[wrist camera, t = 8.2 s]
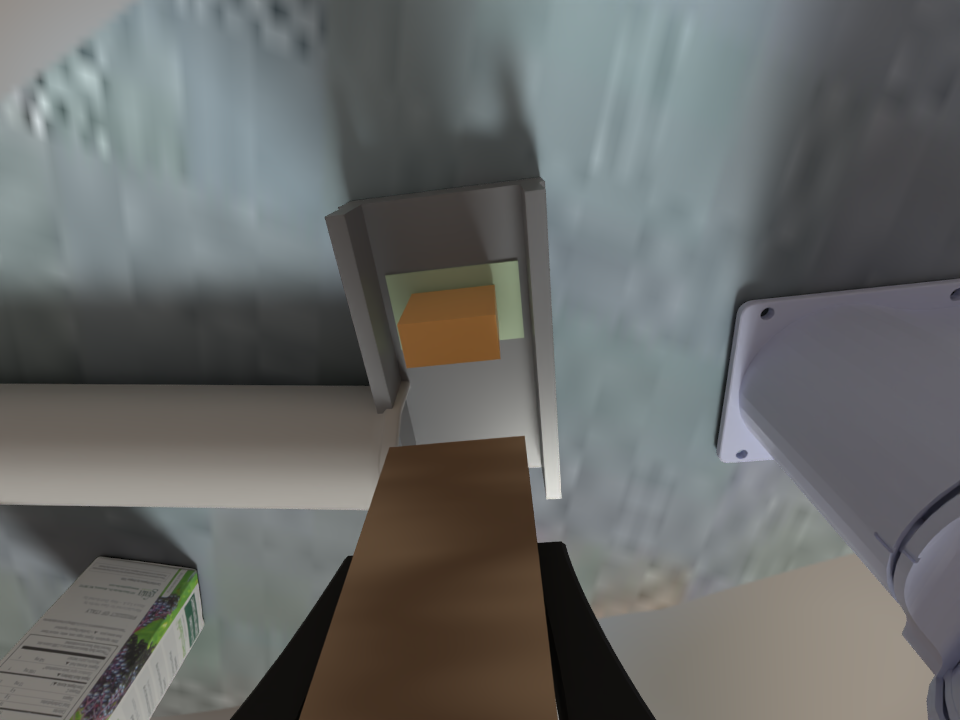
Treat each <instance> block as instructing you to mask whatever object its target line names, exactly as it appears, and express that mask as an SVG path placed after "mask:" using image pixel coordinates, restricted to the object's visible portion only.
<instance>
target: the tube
mask: <svg viewBox="0 0 960 720" xmlns="http://www.w3.org/2000/svg"><path fill="white" fill-rule="evenodd" d="M409 388H410V382H409V381H401V384H400V387H399V390H398V393H397V397H396V400H395V403H394V406H393V409H386V410H385V411H384V412H383V414H377V410H376V406H375V402H374V399H373V395H372V391H371V388H370V386H308V385H143V384H0V505H59V506H127V507H196V508H264V509H333V510H369V507H370V504H371V501H372V498H373V495H374V492H375V489H376V486H377V483H378V480H379V477H380V474H381V471H382V468H383V465H384V462H385V459H386V456H387V453H388V450H389V447H398V445H399V434H400V423H401V414H402V410H403V407H404V404H405V401H406V398H407V394H408V391H409Z"/></svg>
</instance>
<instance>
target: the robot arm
mask: <svg viewBox="0 0 960 720" xmlns="http://www.w3.org/2000/svg"><path fill="white" fill-rule="evenodd" d="M954 290H956V291H955V292H954V294H953V295H951V294H952V292H953V291H954ZM950 295H951V296H950ZM766 308H769V311H768V313H767V314H766V315H764V316H761V315H760V314H761V312H762V311H763V310H764V309H766ZM740 450H743V451H741V452H740V453H737V452H738V451H740ZM716 453H717V456H718V457H719V458H720V460H721V461H722V462H724V463H735V462H747V461H760V460H772V459H774V460H775V461H776V462H777V463H778V465H779V466H780V467H781V468H782V469H783V470H784V471H785V473H786V474H787V475H788V476H789V477H790V478H791V480H792V481H793V482H794V483H795V484H796V485H797V487H798V488H799V489H800V490H801V491H802V492H803V494H804V495H805V496H806V497H807V498H808V499H809V501H810V502H811V503H812V504H813V505H814V506H815V507H816V509H817V510H818V511H819V512H820V513H821V514H822V516H823V517H824V518H825V519H826V520H827V521H828V523H829V524H830V525H831V526H832V527H833V528H834V530H835V531H836V532H837V533H838V534H839V535H840V536H841V538H842V539H843V540H844V541H845V542H846V543H847V545H848V546H849V547H850V548H851V549H852V550H853V552H854V553H855V554H856V555H857V556H858V557H859V558H860V560H861V561H862V562H863V563H864V564H865V565H866V567H868V569H869V570H870V571H871V572H872V574H873V575H874V576H875V577H876V578H877V579H878V581H879V582H881V584H882V585H883V586H884V587H885V589H886V590H887V591H888V592H889V593H890V594H891V596H892V597H893V598H894V599H895V600H896V601H897V602H898V603H899V604H900V606H901V607H902V609H903V610H904V612H905V614H906V617H907V622H906V626H905V628H904V630H903V632H902V635H903V636H904V638H905V639H906V640H907V641H908V643H909V644H910V645H911V646H912V648H913V649H914V650H915V651H916V652H917V654H918V655H919V656H920V657H921V658H922V660H923V661H924V662H925V663H926V665H927V666H928V667H929V668H930V670H931V671H932V672H933V673H934V674H935V676H934V678H933V680H932V681H931V683H930V686H929V690H928V696H927V711H928V720H960V279H951V280H941V281H932V282H922V283H913V284H903V285H893V286H884V287H874V288H865V289H855V290H845V291H836V292H826V293H816V294H807V295H797V296H788V297H778V298H768V299H759V300H751V301H747V302H745V303H744V304H742V305H741V306H740V308H739V309H738V312H737V316H736V323H735V329H734V336H733V343H732V350H731V356H730V363H729V370H728V376H727V383H726V390H725V397H724V403H723V410H722V417H721V423H720V430H719V437H718V444H717V450H716ZM537 546H538V554H539V563H540V571H541V580H542V589H543V597H544V606H545V615H546V623H547V632H548V640H549V649H550V658H551V666H552V675H553V683H554V692H555V699H556V705H557V710H558V715H559V720H656V719H655V717H654V716H653V714H652V713H651V711H650V710H649V708H648V707H647V705H646V704H645V702H644V701H643V699H642V698H641V696H640V694H639V692H638V691H637V689H636V688H635V686H634V684H633V683H632V681H631V679H630V678H629V676H628V674H627V673H626V671H625V669H624V668H623V666H622V664H621V662H620V661H619V659H618V657H617V656H616V654H615V652H614V651H613V649H612V647H611V645H610V643H609V641H608V640H607V638H606V636H605V634H604V632H603V630H602V628H601V626H600V624H599V622H598V621H597V619H596V617H595V615H594V613H593V611H592V609H591V607H590V605H589V603H588V601H587V599H586V597H585V594H584V592H583V590H582V588H581V585H580V583H579V581H578V579H577V576H576V574H575V571H574V569H573V566H572V564H571V561H570V558H569V555H568V552H567V548H566V545H565V544H564V543H562V542H561V541H560V542H545V543H537ZM352 558H353V556H348V557H347V558H346V559H345V560H344V561H343V563H342V564H341V566H340V568H339V569H338V571H337V572H336V574H335V575H334V577H333V578H332V580H331V582H330V583H329V585H328V586H327V588H326V589H325V591H324V592H323V594H322V595H321V597H320V598H319V600H318V601H317V603H316V604H315V606H314V607H313V609H312V610H311V612H310V613H309V615H308V616H307V618H306V619H305V621H304V622H303V623H302V625H301V626H300V628H299V629H298V631H297V632H296V633H295V635H294V636H293V638H292V639H291V641H290V642H289V643H288V645H287V646H286V648H285V649H284V650H283V652H282V653H281V655H280V656H279V657H278V659H277V660H276V661H275V662H274V664H273V665H272V666H271V668H270V669H269V670H268V672H267V673H266V674H265V676H264V677H263V678H262V680H261V681H260V682H259V684H258V685H257V686H256V688H255V689H254V690H253V692H252V693H251V694H250V695H249V697H248V698H247V699H246V700H245V702H244V703H243V704H242V705H241V707H240V708H239V709H238V710H237V712H236V713H235V714H234V715H233V716H232V718H231V719H230V720H299V718H300V715H301V712H302V709H303V706H304V703H305V700H306V697H307V694H308V691H309V688H310V685H311V682H312V679H313V676H314V673H315V670H316V667H317V664H318V661H319V658H320V655H321V652H322V649H323V646H324V643H325V640H326V637H327V634H328V631H329V628H330V625H331V622H332V619H333V615H334V612H335V609H336V606H337V603H338V600H339V597H340V594H341V591H342V588H343V585H344V582H345V579H346V576H347V573H348V570H349V567H350V564H351V561H352Z"/></svg>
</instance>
